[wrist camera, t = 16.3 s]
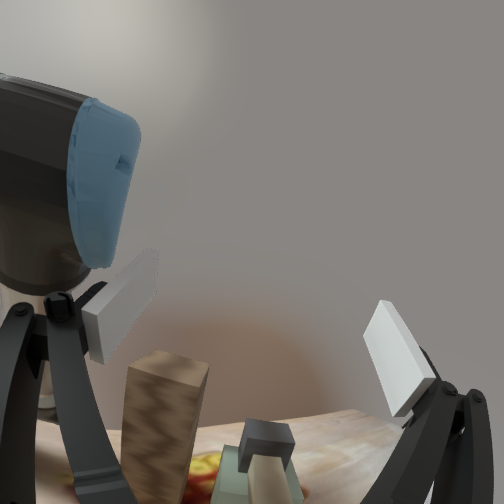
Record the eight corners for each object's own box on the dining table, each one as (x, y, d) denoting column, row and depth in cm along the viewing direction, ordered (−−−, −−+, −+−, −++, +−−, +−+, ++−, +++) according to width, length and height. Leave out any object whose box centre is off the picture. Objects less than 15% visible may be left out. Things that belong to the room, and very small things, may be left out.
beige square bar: (237, 560, 11) (252, 527, 12) (238, 450, 33) (246, 418, 34) (305, 561, 11) (329, 527, 12) (277, 455, 33) (288, 423, 34)
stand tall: (121, 505, 28) (128, 365, 32) (140, 471, 40) (155, 349, 45) (175, 522, 28) (199, 387, 32) (186, 485, 40) (210, 363, 45)
